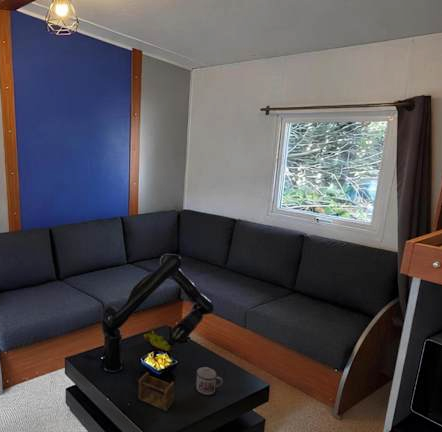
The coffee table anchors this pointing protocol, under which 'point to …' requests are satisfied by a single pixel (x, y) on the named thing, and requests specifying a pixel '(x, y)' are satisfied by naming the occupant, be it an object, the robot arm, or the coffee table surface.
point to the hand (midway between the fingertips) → (169, 344)
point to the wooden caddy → (153, 396)
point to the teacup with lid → (207, 381)
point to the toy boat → (157, 341)
